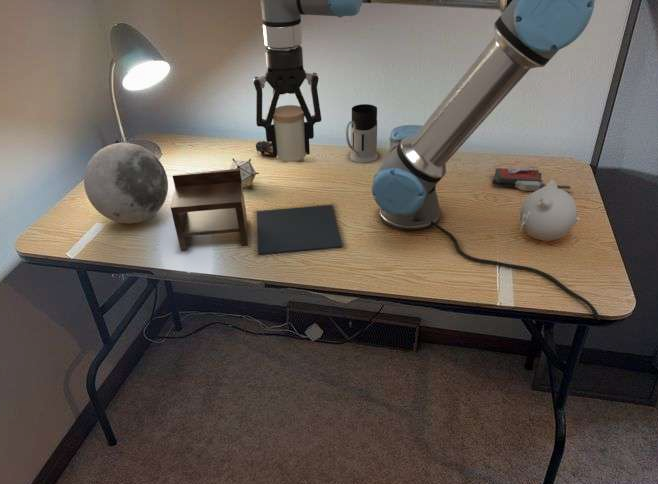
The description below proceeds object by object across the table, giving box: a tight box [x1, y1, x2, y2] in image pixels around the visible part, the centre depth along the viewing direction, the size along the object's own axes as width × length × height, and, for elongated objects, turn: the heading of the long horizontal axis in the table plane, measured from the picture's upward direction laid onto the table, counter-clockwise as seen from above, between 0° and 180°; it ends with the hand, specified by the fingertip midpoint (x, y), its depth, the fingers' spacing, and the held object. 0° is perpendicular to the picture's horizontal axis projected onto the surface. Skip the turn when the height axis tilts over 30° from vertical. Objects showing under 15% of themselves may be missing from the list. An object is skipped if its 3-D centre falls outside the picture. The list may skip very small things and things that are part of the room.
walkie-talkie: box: [491, 166, 571, 192], centre depth 147 cm, size 9×4×20 cm
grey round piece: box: [519, 179, 581, 242], centre depth 124 cm, size 15×13×12 cm
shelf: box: [170, 168, 249, 253], centre depth 129 cm, size 16×11×15 cm
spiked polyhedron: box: [229, 158, 260, 190], centre depth 152 cm, size 9×8×10 cm
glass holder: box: [345, 103, 379, 164], centre depth 161 cm, size 9×14×15 cm, turn 146°
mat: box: [256, 204, 343, 256], centre depth 135 cm, size 20×20×1 cm
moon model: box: [83, 142, 169, 224], centre depth 136 cm, size 20×20×20 cm
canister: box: [272, 104, 307, 162], centre depth 120 cm, size 7×7×10 cm
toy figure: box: [255, 140, 302, 162], centre depth 167 cm, size 7×6×15 cm
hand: (291, 153), depth 123 cm, fingers closed on canister, 7 cm apart
